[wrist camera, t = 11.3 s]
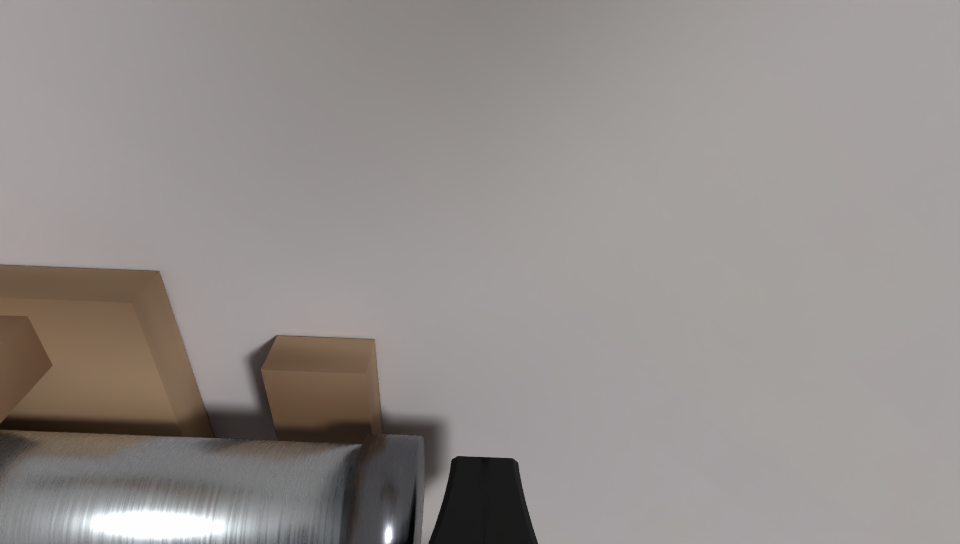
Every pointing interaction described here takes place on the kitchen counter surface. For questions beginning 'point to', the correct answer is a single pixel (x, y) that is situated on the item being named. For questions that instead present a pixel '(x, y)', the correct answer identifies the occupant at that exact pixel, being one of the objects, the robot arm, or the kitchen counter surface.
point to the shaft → (208, 490)
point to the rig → (155, 364)
